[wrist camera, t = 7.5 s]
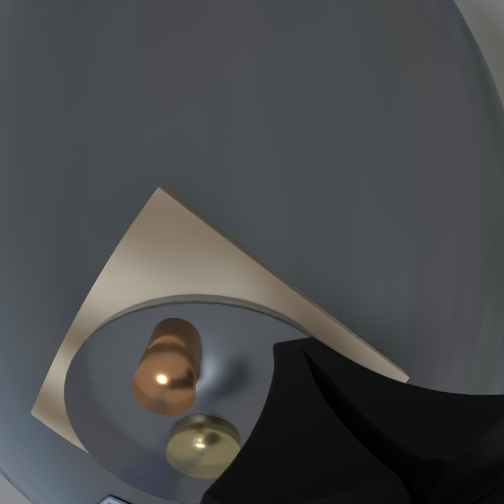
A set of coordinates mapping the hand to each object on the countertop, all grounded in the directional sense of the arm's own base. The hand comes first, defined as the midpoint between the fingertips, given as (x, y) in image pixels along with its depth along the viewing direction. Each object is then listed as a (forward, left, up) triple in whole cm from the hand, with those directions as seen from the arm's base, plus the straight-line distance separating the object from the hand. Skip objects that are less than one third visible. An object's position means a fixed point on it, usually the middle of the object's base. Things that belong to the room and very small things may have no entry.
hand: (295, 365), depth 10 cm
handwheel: (-7, -1, -4) cm, 8 cm away
